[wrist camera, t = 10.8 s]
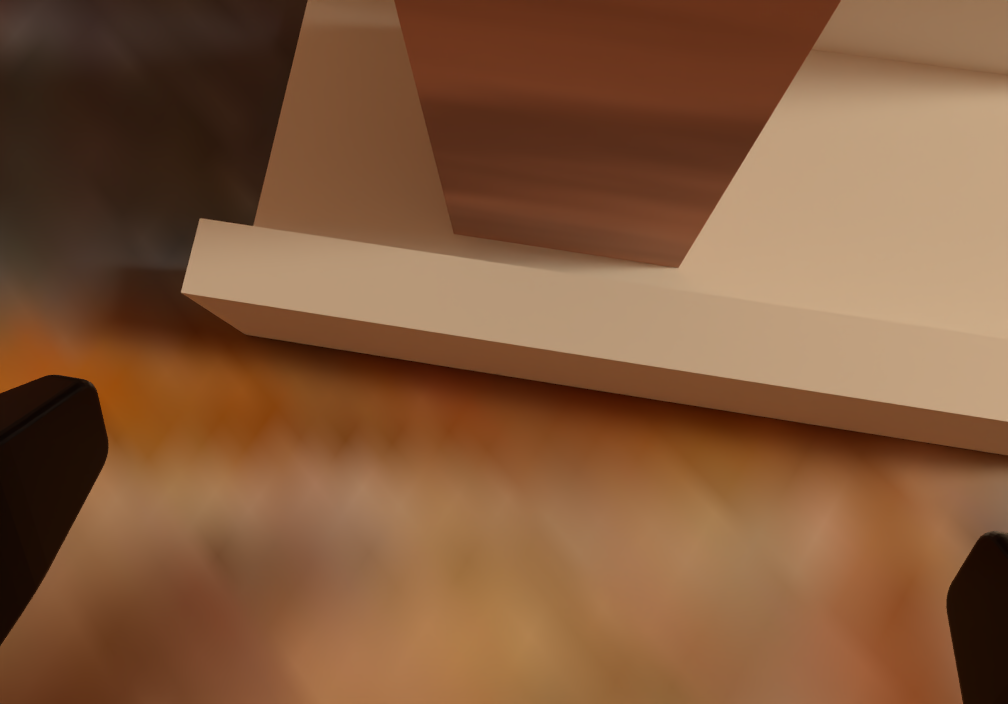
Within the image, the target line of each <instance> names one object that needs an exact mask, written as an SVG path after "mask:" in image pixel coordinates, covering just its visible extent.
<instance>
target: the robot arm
mask: <svg viewBox="0 0 1008 704" xmlns="http://www.w3.org/2000/svg"><path fill="white" fill-rule="evenodd" d="M107 454H108V437H107V433H106V428H105V424H104V419H103V415H102V411H101V406H100V402H99V397H98V393H97V390H96V388H95V387H94V385H93V384H92V383H91V382H89V381H87V380H84V379H79V378H73V377H67V376H61V375H48V376H44V377H42V378H39V379H37V380H34V381H31V382H29V383H26V384H24V385H21V386H18V387H16V388H13V389H11V390H8V391H5V392H3V393H0V645H1V644H2V642H3V641H4V639H5V638H6V637H7V635H8V634H9V632H10V631H11V629H12V628H13V626H14V625H15V623H16V622H17V620H18V619H19V617H20V616H21V614H22V613H23V611H24V610H25V608H26V606H27V605H28V603H29V602H30V600H31V599H32V597H33V595H34V594H35V592H36V591H37V589H38V587H39V586H40V584H41V582H42V580H43V579H44V577H45V575H46V573H47V572H48V570H49V568H50V566H51V564H52V562H53V561H54V559H55V557H56V555H57V553H58V551H59V549H60V547H61V545H62V544H63V542H64V540H65V538H66V536H67V534H68V532H69V530H70V528H71V527H72V525H73V523H74V521H75V519H76V517H77V515H78V513H79V511H80V510H81V508H82V506H83V504H84V502H85V500H86V498H87V496H88V494H89V493H90V491H91V489H92V487H93V485H94V483H95V481H96V479H97V477H98V476H99V474H100V472H101V470H102V468H103V466H104V464H105V461H106V458H107ZM947 615H948V621H949V626H950V632H951V638H952V643H953V649H954V655H955V660H956V666H957V672H958V677H959V683H960V689H961V695H962V700H963V704H1008V533H1004V532H998V531H992V532H987V533H985V534H984V535H982V536H981V537H980V538H979V539H978V541H977V542H976V544H975V545H974V547H973V549H972V550H971V552H970V553H969V555H968V557H967V558H966V560H965V562H964V563H963V565H962V567H961V568H960V570H959V571H958V573H957V575H956V576H955V578H954V580H953V581H952V583H951V585H950V587H949V590H948V594H947Z"/></svg>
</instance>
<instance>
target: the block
mask: <svg viewBox="0 0 1008 704" xmlns="http://www.w3.org/2000/svg"><path fill="white" fill-rule="evenodd" d="M394 2H395V6H396V10H397V14H398V18H399V22H400V26H401V30H402V34H403V37H404V41H405V45H406V49H407V53H408V57H409V61H410V65H411V69H412V73H413V77H414V80H415V84H416V88H417V92H418V96H419V100H420V104H421V108H422V112H423V116H424V120H425V124H426V127H427V131H428V135H429V139H430V143H431V147H432V151H433V155H434V159H435V163H436V167H437V170H438V174H439V178H440V182H441V186H442V190H443V194H444V198H445V202H446V206H447V210H448V213H449V217H450V221H451V225H452V229H453V233H454V234H457V235H464V236H471V237H477V238H484V239H490V240H497V241H503V242H510V243H517V244H523V245H530V246H536V247H543V248H549V249H556V250H563V251H569V252H576V253H582V254H589V255H595V256H602V257H609V258H615V259H622V260H628V261H635V262H642V263H648V264H655V265H661V266H668V267H674V268H679V266H680V264H681V263H682V261H683V260H684V258H685V256H686V255H687V253H688V251H689V250H690V248H691V246H692V245H693V243H694V241H695V240H696V238H697V237H698V235H699V233H700V232H701V230H702V228H703V227H704V225H705V223H706V222H707V220H708V218H709V217H710V215H711V214H712V212H713V210H714V209H715V207H716V205H717V204H718V202H719V200H720V199H721V197H722V195H723V194H724V192H725V191H726V189H727V187H728V186H729V184H730V182H731V181H732V179H733V177H734V176H735V174H736V172H737V171H738V169H739V168H740V166H741V164H742V163H743V161H744V159H745V158H746V156H747V154H748V153H749V151H750V149H751V148H752V146H753V145H754V143H755V141H756V140H757V138H758V136H759V135H760V133H761V131H762V130H763V128H764V126H765V125H766V123H767V122H768V120H769V118H770V117H771V115H772V113H773V112H774V110H775V108H776V107H777V105H778V103H779V102H780V100H781V98H782V97H783V95H784V94H785V92H786V90H787V89H788V87H789V85H790V84H791V82H792V80H793V79H794V77H795V75H796V74H797V72H798V71H799V69H800V67H801V66H802V64H803V62H804V61H805V59H806V57H807V56H808V54H809V52H810V51H811V49H812V48H813V46H814V44H815V43H816V41H817V39H818V38H819V36H820V34H821V33H822V31H823V29H824V28H825V26H826V25H827V23H828V21H829V20H830V18H831V16H832V15H833V13H834V11H835V10H836V8H837V6H838V5H839V3H840V2H841V0H394Z"/></svg>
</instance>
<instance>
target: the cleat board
mask: <svg viewBox="0 0 1008 704" xmlns="http://www.w3.org/2000/svg"><path fill="white" fill-rule="evenodd" d="M181 293H182V294H184V295H185V296H187V297H188V298H190V299H191V300H193V301H194V302H196V303H198V304H199V305H201V306H202V307H204V308H205V309H207V310H208V311H210V312H211V313H213V314H214V315H216V316H217V317H219V318H221V319H222V320H224V321H225V322H227V323H228V324H230V325H231V326H233V327H234V328H236V329H237V330H239V331H240V332H242V333H244V334H245V335H251V336H257V337H263V338H269V339H276V340H282V341H288V342H295V343H301V344H307V345H314V346H320V347H326V348H333V349H339V350H345V351H351V352H358V353H364V354H370V355H377V356H383V357H389V358H396V359H402V360H408V361H415V362H421V363H427V364H433V365H440V366H446V367H452V368H459V369H465V370H471V371H478V372H484V373H490V374H497V375H503V376H509V377H515V378H522V379H528V380H534V381H541V382H547V383H553V384H560V385H566V386H572V387H579V388H585V389H591V390H598V391H604V392H610V393H616V394H623V395H629V396H635V397H642V398H648V399H654V400H661V401H667V402H673V403H680V404H686V405H692V406H698V407H705V408H711V409H717V410H724V411H730V412H736V413H743V414H749V415H755V416H762V417H768V418H774V419H780V420H787V421H793V422H799V423H806V424H812V425H818V426H825V427H831V428H837V429H844V430H850V431H856V432H862V433H869V434H875V435H881V436H888V437H894V438H900V439H907V440H913V441H919V442H926V443H932V444H938V445H945V446H951V447H957V448H963V449H970V450H976V451H982V452H989V453H995V454H1001V455H1008V0H841V2H840V3H839V5H838V6H837V8H836V10H835V11H834V13H833V15H832V16H831V18H830V20H829V21H828V23H827V25H826V26H825V28H824V29H823V31H822V33H821V34H820V36H819V38H818V39H817V41H816V43H815V44H814V46H813V48H812V49H811V51H810V52H809V54H808V56H807V57H806V59H805V61H804V62H803V64H802V66H801V67H800V69H799V71H798V72H797V74H796V75H795V77H794V79H793V80H792V82H791V84H790V85H789V87H788V89H787V90H786V92H785V94H784V95H783V97H782V98H781V100H780V102H779V103H778V105H777V107H776V108H775V110H774V112H773V113H772V115H771V117H770V118H769V120H768V122H767V123H766V125H765V126H764V128H763V130H762V131H761V133H760V135H759V136H758V138H757V140H756V141H755V143H754V145H753V146H752V148H751V149H750V151H749V153H748V154H747V156H746V158H745V159H744V161H743V163H742V164H741V166H740V168H739V169H738V171H737V172H736V174H735V176H734V177H733V179H732V181H731V182H730V184H729V186H728V187H727V189H726V191H725V192H724V194H723V195H722V197H721V199H720V200H719V202H718V204H717V205H716V207H715V209H714V210H713V212H712V214H711V215H710V217H709V218H708V220H707V222H706V223H705V225H704V227H703V228H702V230H701V232H700V233H699V235H698V237H697V238H696V240H695V241H694V243H693V245H692V246H691V248H690V250H689V251H688V253H687V255H686V256H685V258H684V260H683V261H682V263H681V264H680V266H679V268H674V267H668V266H661V265H655V264H648V263H642V262H635V261H628V260H622V259H615V258H609V257H602V256H595V255H589V254H582V253H576V252H569V251H563V250H556V249H549V248H543V247H536V246H530V245H523V244H517V243H510V242H503V241H497V240H490V239H484V238H477V237H471V236H464V235H457V234H454V233H453V229H452V225H451V221H450V217H449V213H448V210H447V206H446V202H445V198H444V194H443V190H442V186H441V182H440V178H439V174H438V170H437V167H436V163H435V159H434V155H433V151H432V147H431V143H430V139H429V135H428V131H427V127H426V124H425V120H424V116H423V112H422V108H421V104H420V100H419V96H418V92H417V88H416V84H415V80H414V77H413V73H412V69H411V65H410V61H409V57H408V53H407V49H406V45H405V41H404V37H403V34H402V30H401V26H400V22H399V18H398V14H397V10H396V6H395V2H394V0H308V1H307V6H306V10H305V14H304V18H303V22H302V26H301V30H300V34H299V39H298V43H297V47H296V51H295V55H294V59H293V63H292V68H291V72H290V76H289V80H288V84H287V88H286V92H285V97H284V101H283V105H282V109H281V113H280V117H279V121H278V126H277V130H276V134H275V138H274V142H273V146H272V150H271V155H270V159H269V163H268V167H267V171H266V175H265V179H264V184H263V188H262V192H261V196H260V200H259V204H258V208H257V213H256V217H255V221H254V225H253V226H249V225H242V224H236V223H229V222H222V221H216V220H209V219H202V218H200V220H199V224H198V227H197V231H196V235H195V239H194V243H193V247H192V251H191V255H190V259H189V263H188V266H187V270H186V274H185V278H184V282H183V286H182V290H181Z"/></svg>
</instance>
